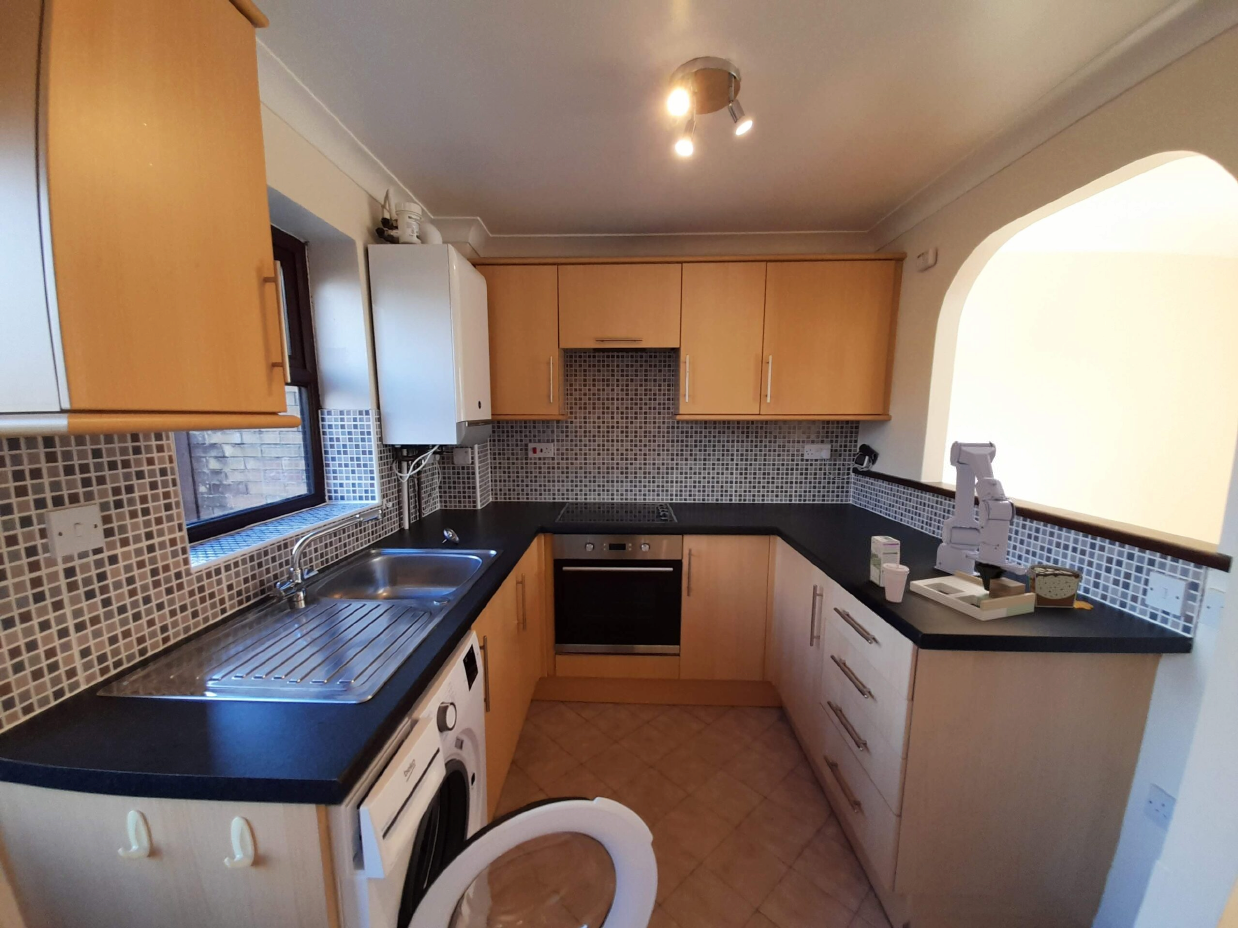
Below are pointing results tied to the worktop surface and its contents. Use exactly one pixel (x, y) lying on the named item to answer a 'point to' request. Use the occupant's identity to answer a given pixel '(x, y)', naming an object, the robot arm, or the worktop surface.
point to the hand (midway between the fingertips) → (989, 590)
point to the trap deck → (972, 597)
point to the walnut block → (1005, 588)
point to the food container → (1053, 585)
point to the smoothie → (895, 580)
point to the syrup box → (882, 556)
